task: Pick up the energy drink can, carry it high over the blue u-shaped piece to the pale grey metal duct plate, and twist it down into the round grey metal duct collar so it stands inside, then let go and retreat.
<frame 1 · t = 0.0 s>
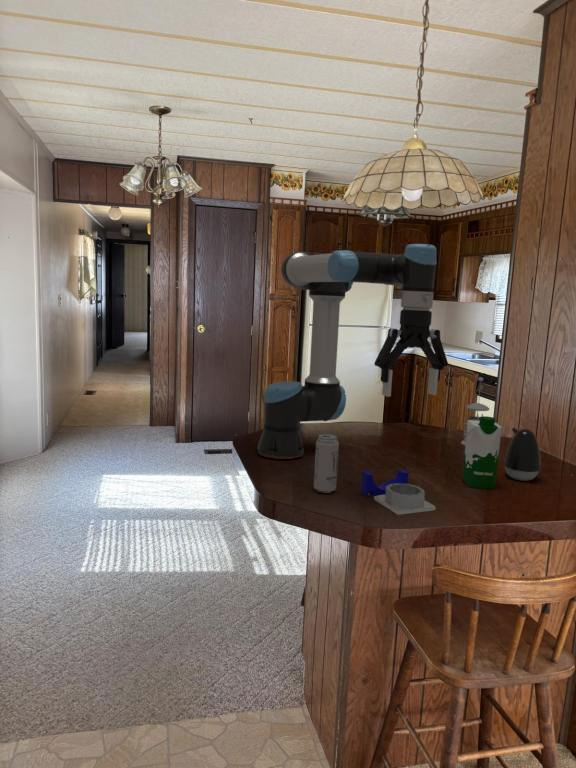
hand: (409, 395, 144), 28 cm above the table, fingers open, 13 cm apart
milk carton: (478, 484, 166), on the table
energy drink can: (324, 491, 154), on the table
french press: (474, 445, 211), on the table
duct plate: (404, 504, 146), on the table
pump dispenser: (520, 478, 173), on the table
blue u-shaped piece: (382, 493, 155), on the table
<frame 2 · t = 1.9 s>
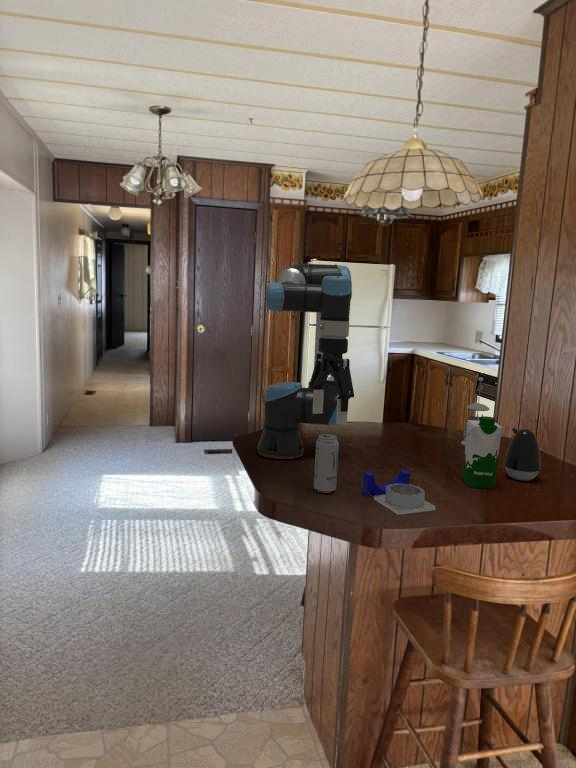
hand: (328, 418, 150), 20 cm above the table, fingers open, 13 cm apart
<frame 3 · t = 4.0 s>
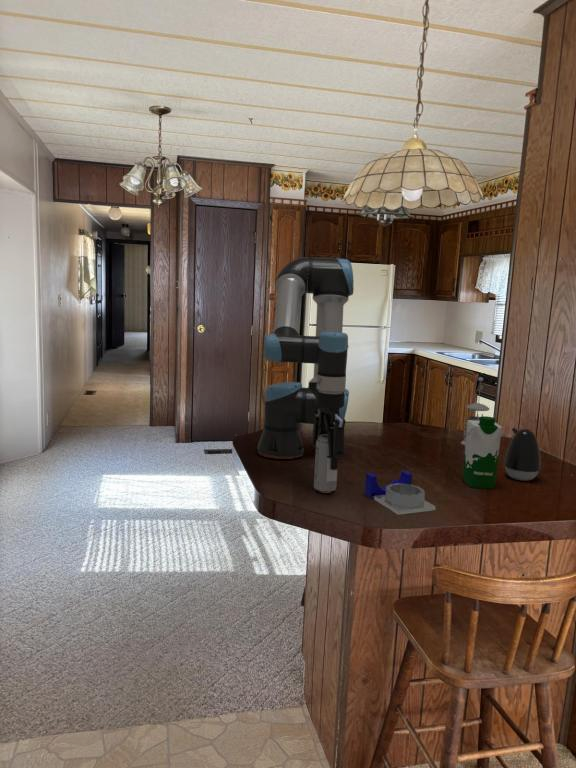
hand: (325, 476, 153), 4 cm above the table, fingers closed on energy drink can, 6 cm apart
energy drink can: (324, 491, 154), on the table, touching gripper
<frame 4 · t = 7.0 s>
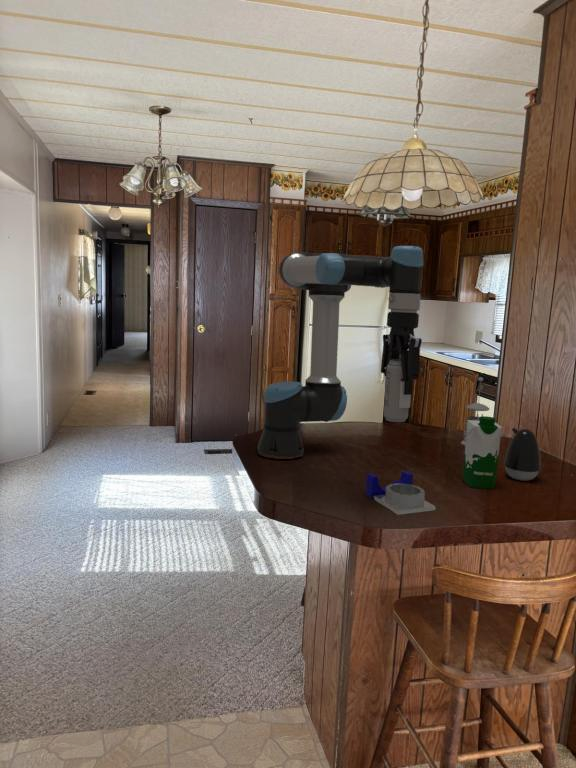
hand: (396, 404, 143), 26 cm above the table, fingers closed on energy drink can, 6 cm apart
energy drink can: (395, 420, 144), point 21 cm above the table, touching gripper
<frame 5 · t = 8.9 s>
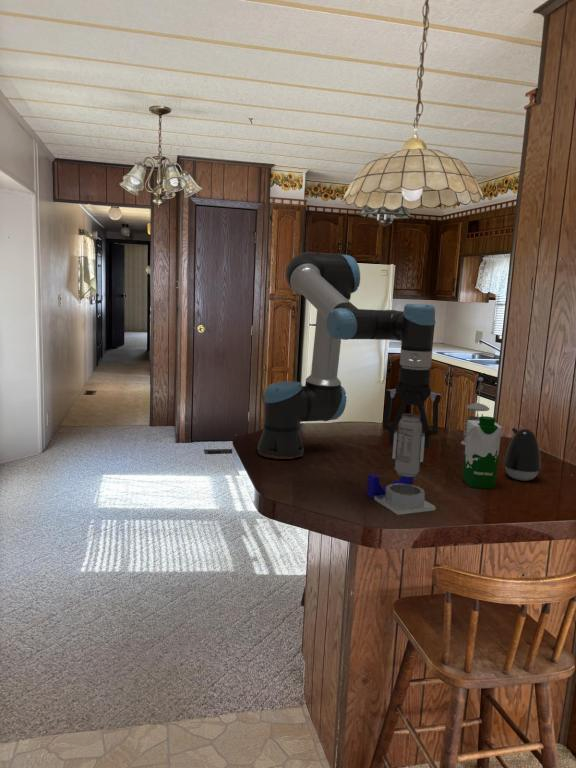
hand: (407, 458, 144), 12 cm above the table, fingers closed on energy drink can, 6 cm apart
energy drink can: (406, 474, 145), point 8 cm above the table, touching gripper
when the fingers open (6 cm above the table, at t = 10.4 s): energy drink can drops 1 cm, resting on duct plate.
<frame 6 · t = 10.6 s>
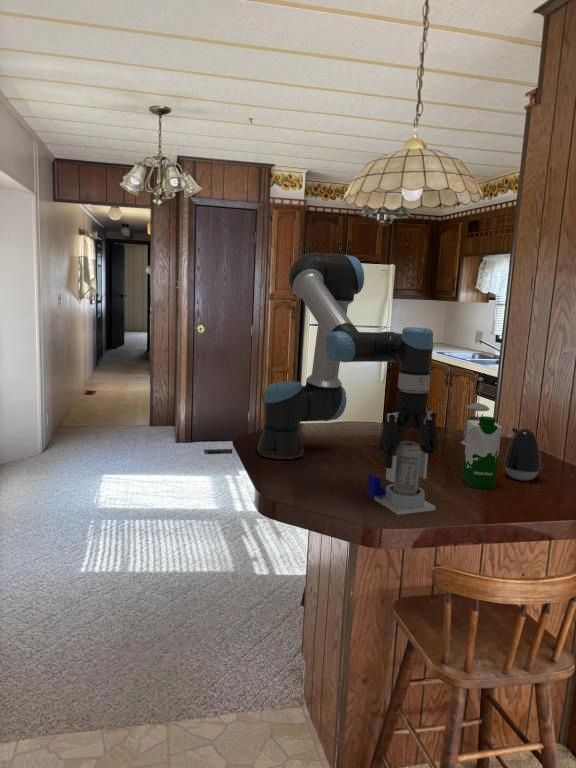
hand: (406, 478, 145), 7 cm above the table, fingers open, 9 cm apart
energy drink can: (403, 501, 146), point 1 cm above the table, touching duct plate
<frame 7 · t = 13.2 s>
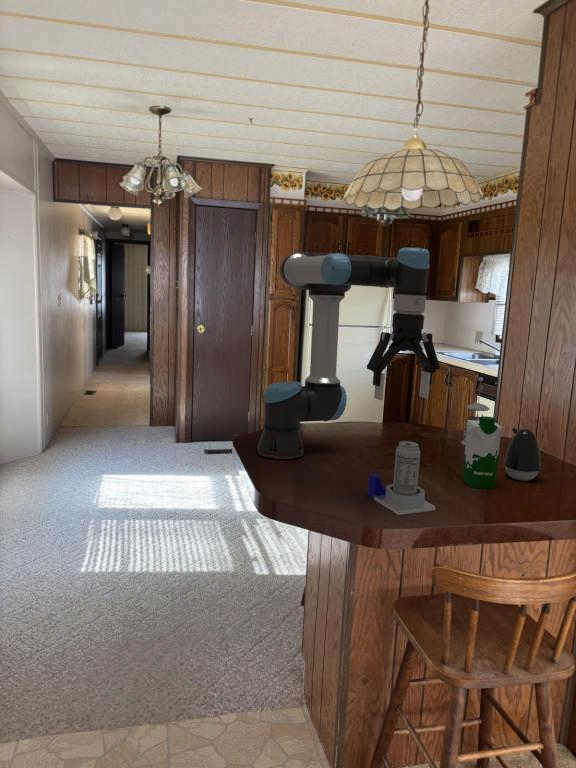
hand: (401, 398, 144), 27 cm above the table, fingers open, 13 cm apart
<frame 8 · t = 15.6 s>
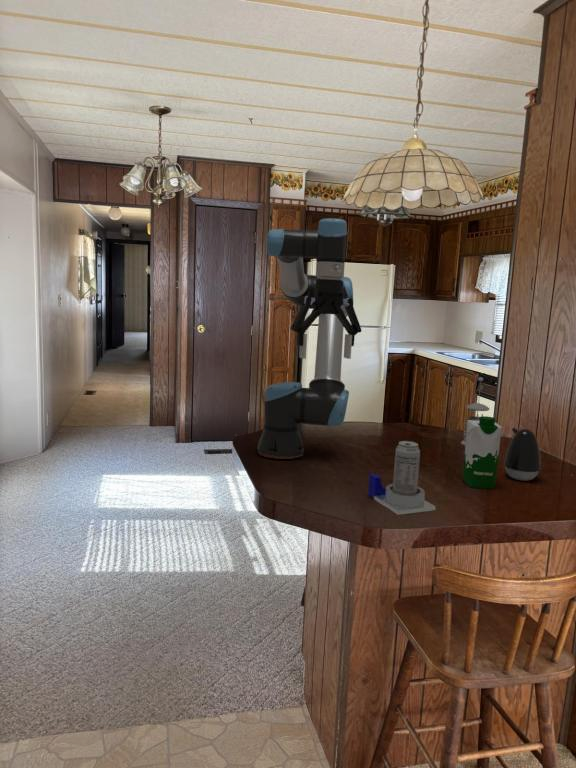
hand: (325, 358, 156), 35 cm above the table, fingers open, 13 cm apart
at the end: energy drink can 0.1 cm off-centre on the duct plate, point 0.8 cm above the duct plate's base; energy drink can tilted 0°; the gripper is holding nothing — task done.
